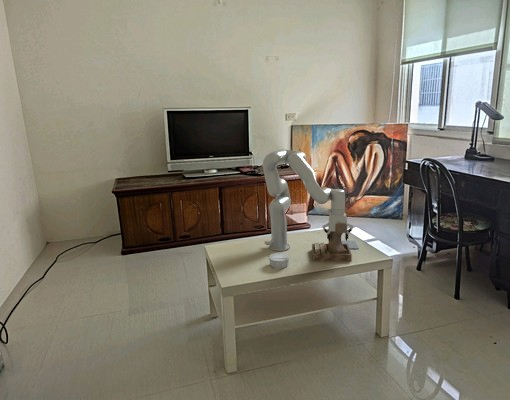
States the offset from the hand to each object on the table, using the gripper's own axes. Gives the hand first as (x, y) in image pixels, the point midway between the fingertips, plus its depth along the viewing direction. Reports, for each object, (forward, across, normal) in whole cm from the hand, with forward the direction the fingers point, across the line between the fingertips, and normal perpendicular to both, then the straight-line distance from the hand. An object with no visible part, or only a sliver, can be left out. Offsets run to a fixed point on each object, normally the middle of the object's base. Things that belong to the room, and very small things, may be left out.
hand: (337, 240), depth 205 cm
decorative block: (+10, 0, 0) cm, 10 cm away
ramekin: (+10, -33, -14) cm, 37 cm away
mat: (+9, +9, +16) cm, 21 cm away
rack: (+9, -4, 0) cm, 10 cm away
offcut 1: (+10, -12, 0) cm, 15 cm away
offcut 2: (+10, -9, 0) cm, 13 cm away
